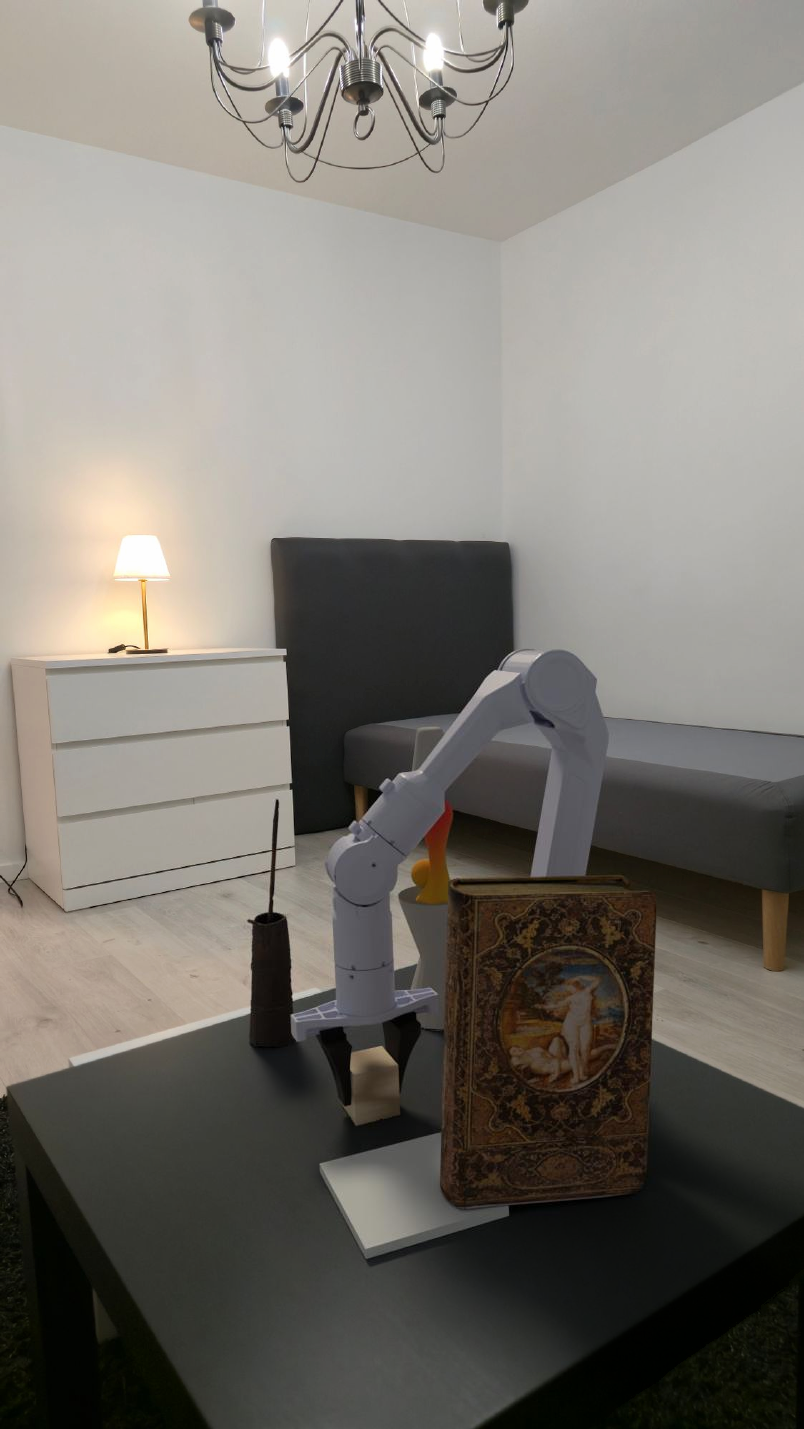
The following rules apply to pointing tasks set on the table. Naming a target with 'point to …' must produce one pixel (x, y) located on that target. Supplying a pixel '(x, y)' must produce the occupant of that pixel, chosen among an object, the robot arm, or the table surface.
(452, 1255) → the table surface
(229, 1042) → the table surface
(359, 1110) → the birch block
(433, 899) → the lava lamp
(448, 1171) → the book
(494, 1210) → the pad
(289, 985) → the butter churn
